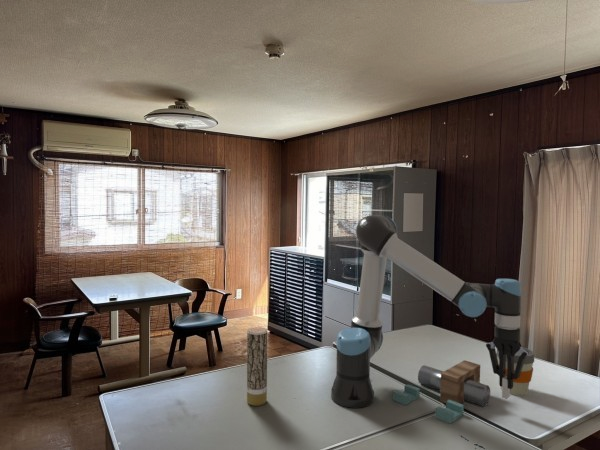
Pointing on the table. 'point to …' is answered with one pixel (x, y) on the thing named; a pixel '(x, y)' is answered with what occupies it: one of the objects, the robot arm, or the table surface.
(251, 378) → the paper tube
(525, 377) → the reusable coffee cup
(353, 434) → the table surface
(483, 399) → the steel axle
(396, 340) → the table surface
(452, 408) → the v-blocks
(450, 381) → the brown wooden arched block
